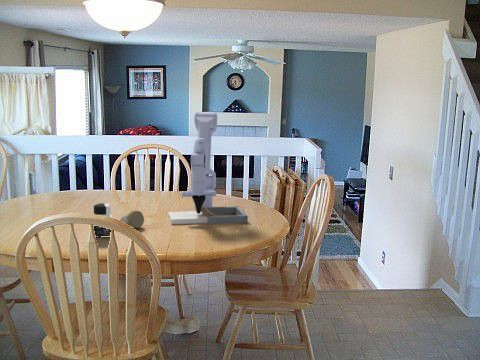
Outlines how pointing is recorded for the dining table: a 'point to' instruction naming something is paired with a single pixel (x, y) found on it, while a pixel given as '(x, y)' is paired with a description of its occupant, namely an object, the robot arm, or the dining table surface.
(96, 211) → the medicine bottle
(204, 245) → the dining table surface
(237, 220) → the box
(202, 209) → the tile
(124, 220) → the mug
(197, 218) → the board
